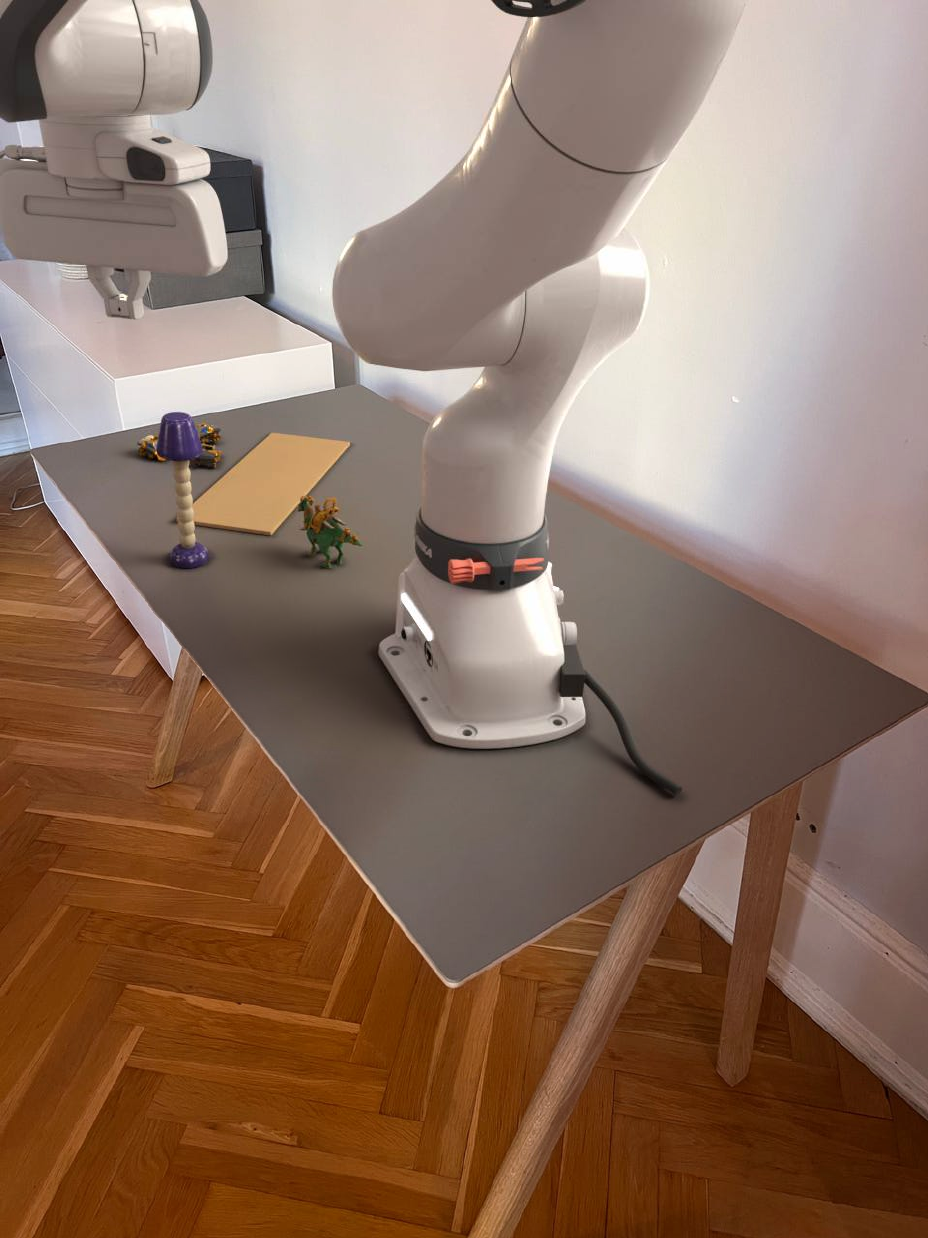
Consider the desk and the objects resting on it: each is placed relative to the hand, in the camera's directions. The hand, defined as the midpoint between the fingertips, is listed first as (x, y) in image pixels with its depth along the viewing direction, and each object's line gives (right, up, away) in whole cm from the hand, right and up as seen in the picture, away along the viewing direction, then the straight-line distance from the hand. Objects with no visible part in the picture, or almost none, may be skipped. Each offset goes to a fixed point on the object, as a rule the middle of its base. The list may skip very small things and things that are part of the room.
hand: (125, 317), depth 85 cm
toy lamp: (+1, -22, +17) cm, 28 cm away
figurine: (+17, -22, +18) cm, 33 cm away
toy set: (-6, -5, +43) cm, 44 cm away
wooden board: (+6, -10, +36) cm, 38 cm away
